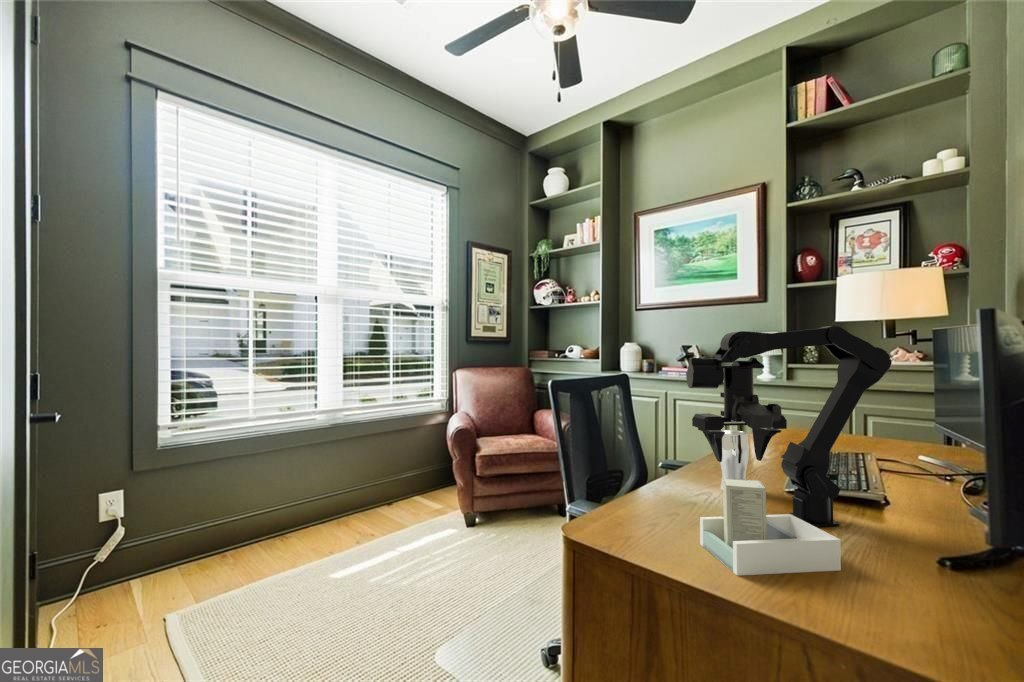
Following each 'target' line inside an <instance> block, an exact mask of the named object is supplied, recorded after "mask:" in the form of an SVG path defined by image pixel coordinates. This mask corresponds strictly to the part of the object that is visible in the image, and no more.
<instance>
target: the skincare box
mask: <svg viewBox="0 0 1024 682" xmlns="http://www.w3.org/2000/svg"><path fill="white" fill-rule="evenodd" d="M766 489H767V488H766V487H765V485H764V484H763V482H762V481H760V480H757V479H754V480H753V479H745V480H741V479H727V478H723V491H722V504H723V505H722V508H723V509H722V511H723V512H722V513H723V516H724V543H726V544H727V545H728V546H730V547H731V548H732V549H733V541H749V540H767V519H766V515H767V490H766Z"/></svg>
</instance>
